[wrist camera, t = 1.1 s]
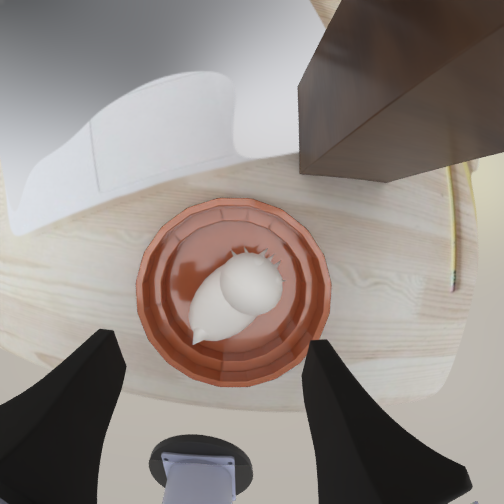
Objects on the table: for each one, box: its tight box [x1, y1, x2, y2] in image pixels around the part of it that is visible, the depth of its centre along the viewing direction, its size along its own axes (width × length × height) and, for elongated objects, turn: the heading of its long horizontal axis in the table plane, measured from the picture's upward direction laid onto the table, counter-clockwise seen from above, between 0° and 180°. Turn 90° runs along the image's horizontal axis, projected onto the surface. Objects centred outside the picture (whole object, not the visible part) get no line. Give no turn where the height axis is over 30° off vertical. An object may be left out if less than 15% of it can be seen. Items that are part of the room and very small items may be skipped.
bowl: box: [136, 198, 331, 387], centre depth 20 cm, size 13×13×4 cm
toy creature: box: [189, 247, 286, 345], centre depth 18 cm, size 5×8×6 cm, turn 137°
